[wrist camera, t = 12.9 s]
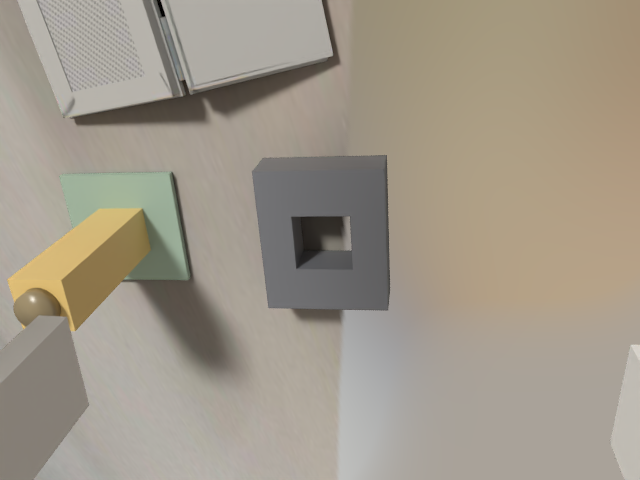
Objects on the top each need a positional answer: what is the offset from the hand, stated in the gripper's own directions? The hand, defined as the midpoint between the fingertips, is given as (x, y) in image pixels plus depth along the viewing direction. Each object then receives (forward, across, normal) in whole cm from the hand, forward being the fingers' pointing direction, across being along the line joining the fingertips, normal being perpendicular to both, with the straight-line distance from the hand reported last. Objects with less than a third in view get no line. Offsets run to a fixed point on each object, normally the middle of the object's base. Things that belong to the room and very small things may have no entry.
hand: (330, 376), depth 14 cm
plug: (+34, -23, -12) cm, 42 cm away
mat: (+34, -23, -12) cm, 43 cm away
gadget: (+35, -17, +8) cm, 40 cm away
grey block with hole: (+34, -5, -11) cm, 36 cm away
